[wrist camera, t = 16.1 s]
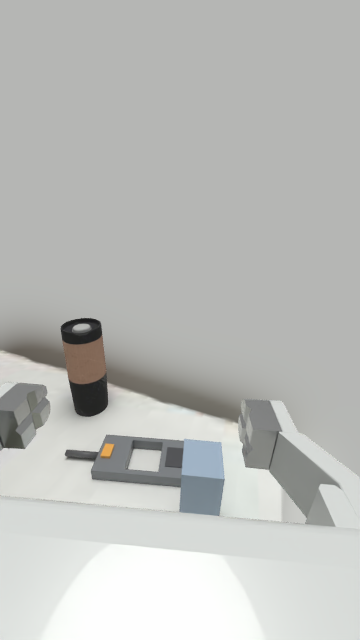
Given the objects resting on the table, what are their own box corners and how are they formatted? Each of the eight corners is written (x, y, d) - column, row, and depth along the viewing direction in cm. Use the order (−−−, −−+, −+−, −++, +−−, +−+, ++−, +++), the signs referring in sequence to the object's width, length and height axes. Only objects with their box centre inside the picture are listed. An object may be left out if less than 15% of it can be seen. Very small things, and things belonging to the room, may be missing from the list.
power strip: (56, 475, 39) (54, 465, 38) (76, 440, 45) (74, 430, 44) (215, 489, 38) (216, 479, 37) (212, 451, 44) (213, 441, 43)
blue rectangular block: (177, 548, 31) (181, 474, 25) (180, 508, 35) (184, 438, 30) (213, 553, 30) (224, 479, 25) (211, 512, 35) (221, 441, 30)
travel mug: (89, 390, 59) (79, 315, 51) (115, 399, 56) (109, 321, 49) (66, 411, 52) (50, 328, 45) (94, 421, 50) (82, 336, 42)
